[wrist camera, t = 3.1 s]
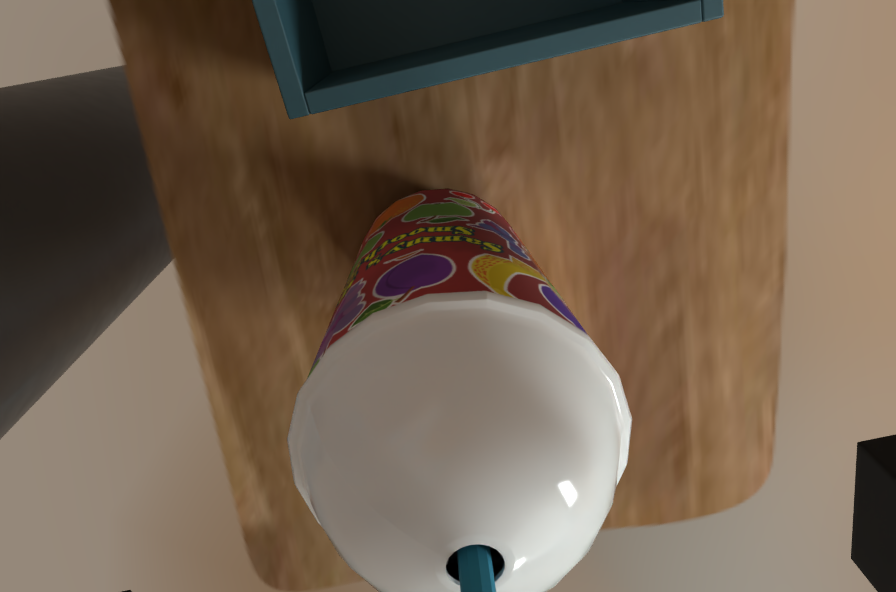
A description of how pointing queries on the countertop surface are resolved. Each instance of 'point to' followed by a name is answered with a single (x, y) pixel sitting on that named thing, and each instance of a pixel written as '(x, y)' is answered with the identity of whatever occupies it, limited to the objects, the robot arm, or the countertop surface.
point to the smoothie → (457, 411)
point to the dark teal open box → (439, 40)
